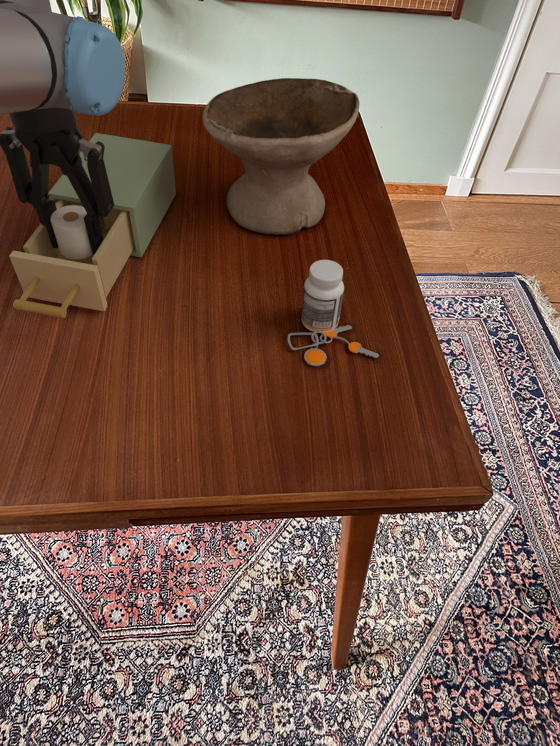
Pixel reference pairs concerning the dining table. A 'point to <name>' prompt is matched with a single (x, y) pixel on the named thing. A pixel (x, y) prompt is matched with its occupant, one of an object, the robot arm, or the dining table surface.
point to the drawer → (72, 268)
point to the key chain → (318, 356)
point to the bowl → (279, 147)
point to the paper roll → (71, 232)
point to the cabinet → (132, 183)
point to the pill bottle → (323, 296)
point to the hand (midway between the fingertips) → (78, 245)
